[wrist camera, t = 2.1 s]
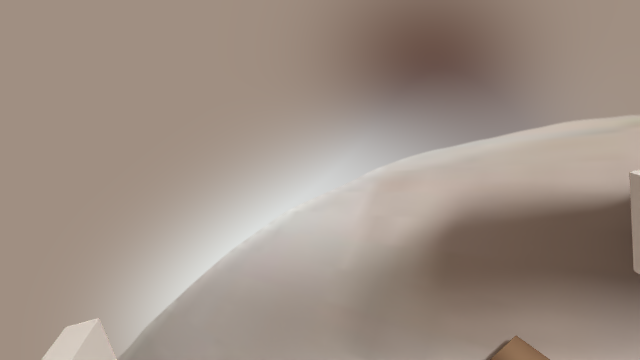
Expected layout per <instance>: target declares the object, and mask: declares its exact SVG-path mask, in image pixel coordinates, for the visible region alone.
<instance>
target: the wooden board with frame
mask: <svg viewBox="0 0 640 360" xmlns="http://www.w3.org/2000/svg"><path fill="white" fill-rule="evenodd" d="M490 360H550V359H548V358H547V357H546V356H544V355H543V354H541V353H540V352H539V351H537V350H536V349H534V348H533V347H532V346H530V345H529V344H527V343H526V342H525V341H523V340H522V339H520V338H519V337H518V336H515V337H514V338H513V339H512V340H511V341H510V342H508V343H507V344H506V345H505V346H504V347H503V348H502V349H501V350H500V351H499V352H498V353H497V354H496V355H495V356H493V357H492V358H491V359H490Z"/></svg>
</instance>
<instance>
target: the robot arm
mask: <svg viewBox="0 0 640 360" xmlns="http://www.w3.org/2000/svg"><path fill="white" fill-rule="evenodd" d="M629 176H630V199H631V222H632V244H633V267H634V271H635V272H637V273H638V274H640V170H636V171H632V172H629ZM42 360H117V358H116V356H115V353H114V351H113V349H112V346H111V344H110V342H109V340H108V337H107V335H106V333H105V330H104V328H103V326H102V323H101V321H100V319H99V318H97V319H93V320H89V321H86V322H82V323H78V324H75V325H71V326H67V327H66V328H65V329H64V330H63V331H62V333H61V334H60V336H59V337H58V338H57V340H56V341H55V342H54V343H53V345H52V346H51V348H50V349H49V350H48V351H47V353H46V354H45V355H44V357H43V358H42Z"/></svg>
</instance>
